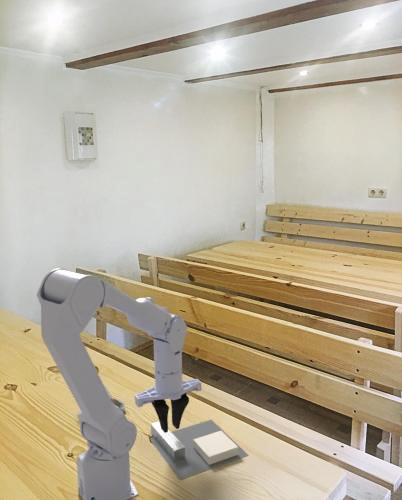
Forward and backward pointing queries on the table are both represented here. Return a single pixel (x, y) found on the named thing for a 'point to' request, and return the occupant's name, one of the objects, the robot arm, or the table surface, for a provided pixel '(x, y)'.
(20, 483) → the table surface
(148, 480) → the table surface
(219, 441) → the tile
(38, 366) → the table surface
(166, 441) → the bar
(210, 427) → the mat
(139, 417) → the table surface
